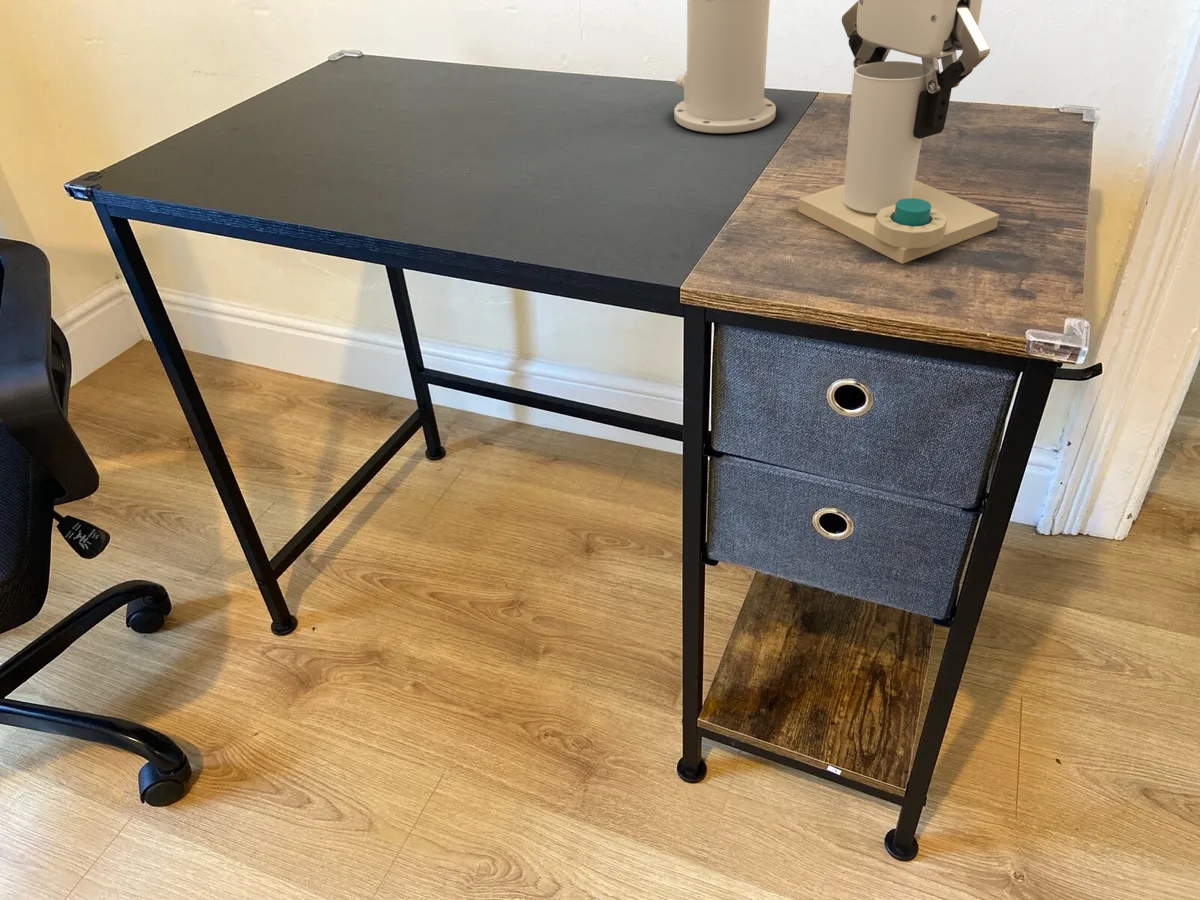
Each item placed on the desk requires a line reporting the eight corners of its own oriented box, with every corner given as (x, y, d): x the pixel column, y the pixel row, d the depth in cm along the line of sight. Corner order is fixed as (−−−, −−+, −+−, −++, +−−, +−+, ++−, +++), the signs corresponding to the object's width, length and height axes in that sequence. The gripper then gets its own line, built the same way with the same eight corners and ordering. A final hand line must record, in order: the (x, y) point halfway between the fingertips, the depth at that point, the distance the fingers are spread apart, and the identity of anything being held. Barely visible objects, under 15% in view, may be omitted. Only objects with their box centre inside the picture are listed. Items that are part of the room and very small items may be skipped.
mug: (901, 219, 80) (922, 82, 73) (830, 209, 84) (843, 76, 76) (929, 184, 87) (951, 55, 80) (863, 176, 90) (878, 51, 83)
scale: (794, 212, 87) (797, 183, 85) (887, 182, 92) (891, 154, 90) (906, 269, 77) (912, 237, 75) (1004, 232, 81) (1012, 201, 80)
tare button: (886, 219, 79) (888, 203, 78) (910, 211, 80) (913, 195, 79) (910, 231, 77) (913, 214, 76) (935, 222, 78) (938, 206, 77)
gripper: (1057, -100, 65) (1002, 140, 76) (887, -117, 77) (860, 93, 88) (986, -86, 62) (939, 160, 73) (821, -106, 74) (802, 109, 85)
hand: (897, 122), depth 81 cm, fingers closed on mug, 6 cm apart
